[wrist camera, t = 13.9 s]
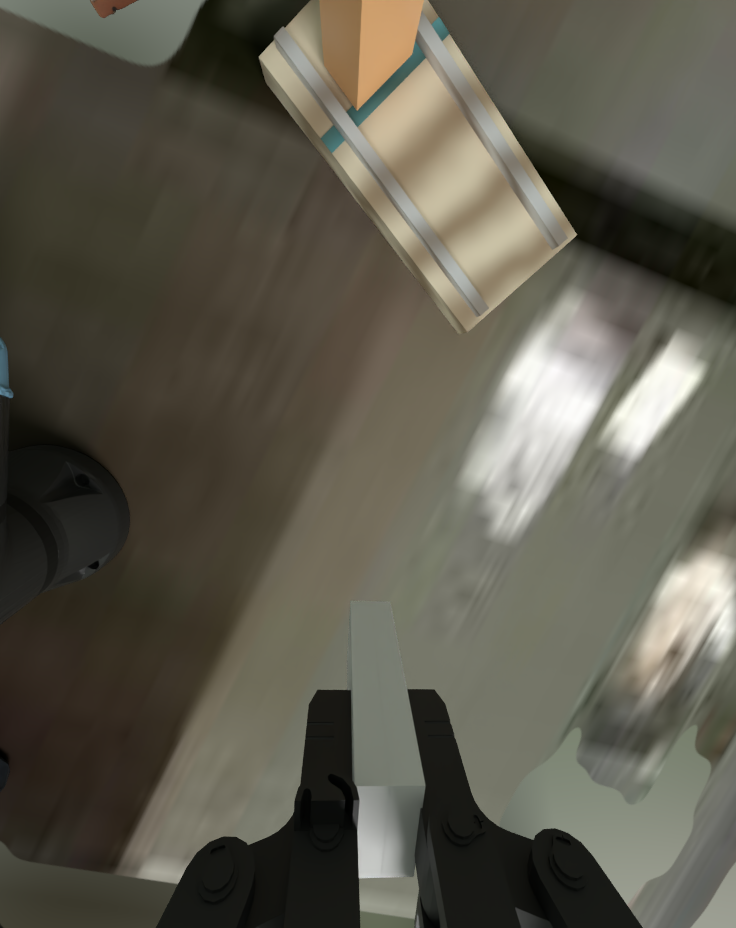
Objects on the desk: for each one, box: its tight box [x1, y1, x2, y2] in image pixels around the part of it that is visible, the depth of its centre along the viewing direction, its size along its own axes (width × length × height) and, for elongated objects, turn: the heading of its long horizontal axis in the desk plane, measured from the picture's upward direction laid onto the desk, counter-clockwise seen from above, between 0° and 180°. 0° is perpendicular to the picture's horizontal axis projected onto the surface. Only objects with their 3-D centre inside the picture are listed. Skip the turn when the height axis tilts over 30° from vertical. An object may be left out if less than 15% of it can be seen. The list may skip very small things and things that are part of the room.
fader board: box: [259, 0, 577, 334], centre depth 35 cm, size 28×13×4 cm, turn 41°
